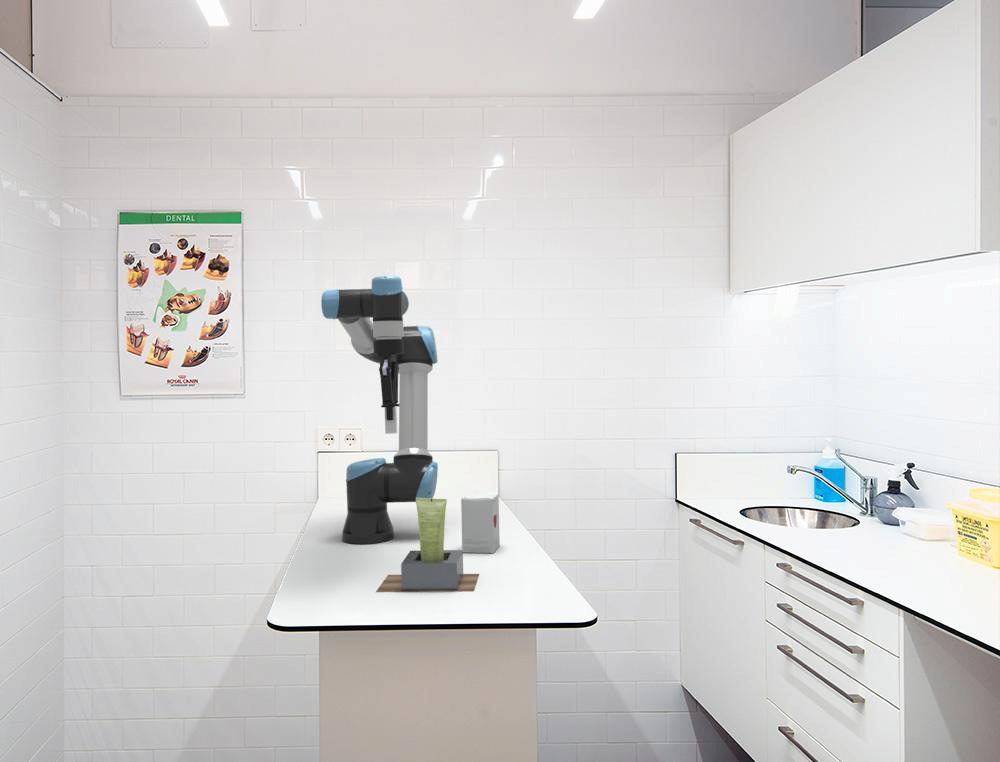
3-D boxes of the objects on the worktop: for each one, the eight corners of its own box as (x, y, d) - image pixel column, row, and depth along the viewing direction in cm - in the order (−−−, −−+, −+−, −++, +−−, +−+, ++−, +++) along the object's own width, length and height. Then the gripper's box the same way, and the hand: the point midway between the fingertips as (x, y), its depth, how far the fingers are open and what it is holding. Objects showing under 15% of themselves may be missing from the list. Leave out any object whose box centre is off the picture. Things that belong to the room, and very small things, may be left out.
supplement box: (494, 553, 213) (492, 498, 212) (461, 553, 214) (460, 498, 214) (500, 545, 221) (499, 492, 221) (469, 545, 223) (468, 492, 223)
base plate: (388, 579, 190) (388, 574, 190) (479, 578, 189) (479, 573, 189) (375, 597, 176) (375, 592, 176) (474, 596, 175) (473, 591, 175)
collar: (411, 575, 189) (410, 550, 189) (463, 575, 188) (462, 550, 188) (401, 590, 177) (401, 563, 177) (457, 589, 176) (456, 563, 176)
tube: (440, 577, 186) (438, 495, 185) (449, 583, 182) (446, 498, 181) (418, 581, 184) (415, 497, 183) (426, 586, 179) (423, 501, 178)
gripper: (379, 339, 204) (381, 431, 205) (367, 338, 191) (370, 436, 192) (407, 338, 204) (410, 430, 204) (398, 337, 191) (401, 435, 191)
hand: (391, 433), depth 198 cm, fingers closed
